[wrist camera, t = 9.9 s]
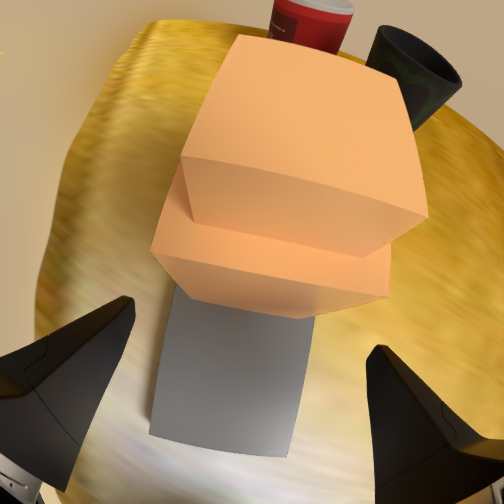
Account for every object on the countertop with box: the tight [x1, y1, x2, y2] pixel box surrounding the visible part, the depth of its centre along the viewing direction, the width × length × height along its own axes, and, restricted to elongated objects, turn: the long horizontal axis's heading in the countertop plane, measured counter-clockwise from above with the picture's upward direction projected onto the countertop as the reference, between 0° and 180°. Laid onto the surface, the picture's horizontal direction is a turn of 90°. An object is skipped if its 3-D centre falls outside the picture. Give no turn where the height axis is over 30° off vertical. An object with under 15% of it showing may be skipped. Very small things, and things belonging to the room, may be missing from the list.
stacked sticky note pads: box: [150, 34, 429, 319], centre depth 11 cm, size 7×7×13 cm
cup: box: [365, 25, 462, 132], centre depth 18 cm, size 8×8×12 cm
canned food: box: [267, 0, 355, 56], centre depth 21 cm, size 8×8×11 cm
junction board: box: [149, 283, 315, 457], centre depth 15 cm, size 16×9×4 cm, turn 170°
